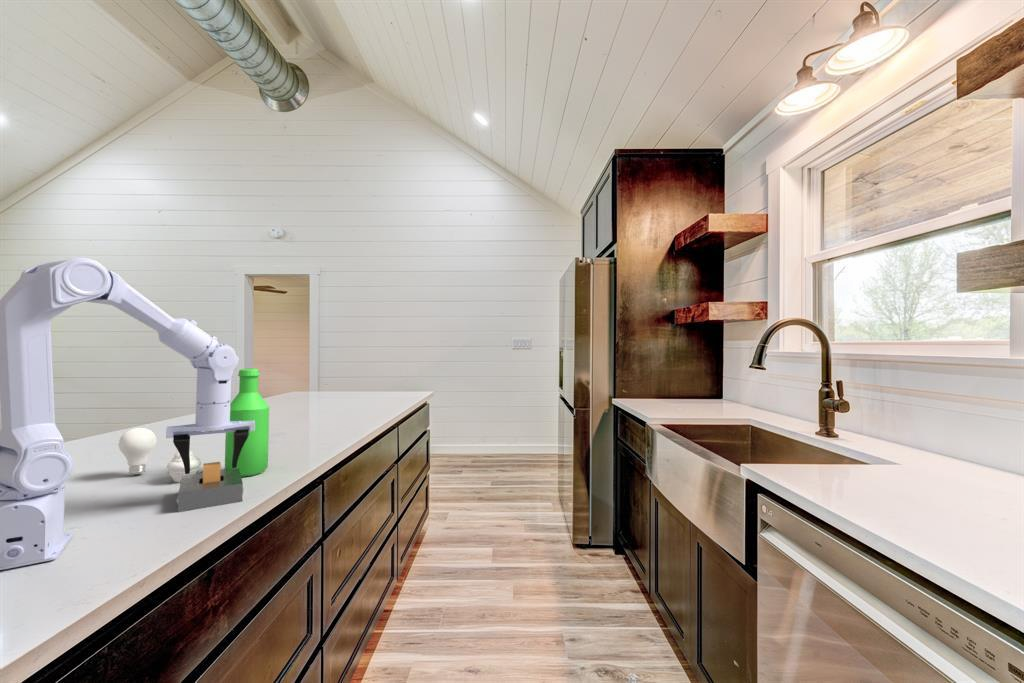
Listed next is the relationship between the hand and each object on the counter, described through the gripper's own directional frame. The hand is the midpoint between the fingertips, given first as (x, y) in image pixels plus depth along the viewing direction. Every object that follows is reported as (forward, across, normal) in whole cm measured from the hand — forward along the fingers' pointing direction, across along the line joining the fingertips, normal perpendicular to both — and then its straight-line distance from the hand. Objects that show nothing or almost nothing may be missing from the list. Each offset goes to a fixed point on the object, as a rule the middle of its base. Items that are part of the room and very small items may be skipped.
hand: (211, 469), depth 85 cm
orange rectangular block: (+5, 0, 0) cm, 5 cm away
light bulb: (+6, +14, -26) cm, 30 cm away
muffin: (+6, +5, -16) cm, 18 cm away
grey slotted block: (+5, 0, -3) cm, 6 cm away
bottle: (+6, -7, -15) cm, 18 cm away
